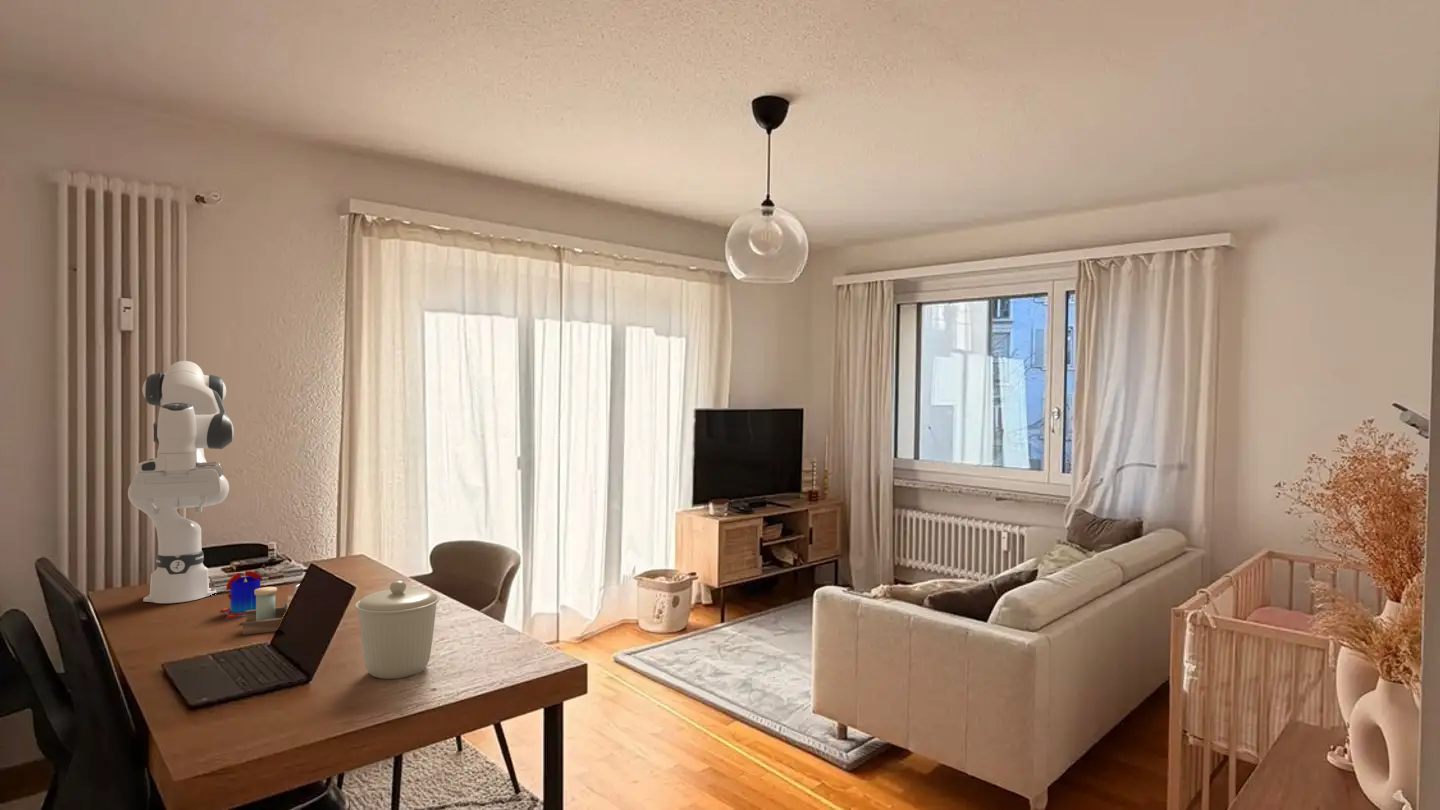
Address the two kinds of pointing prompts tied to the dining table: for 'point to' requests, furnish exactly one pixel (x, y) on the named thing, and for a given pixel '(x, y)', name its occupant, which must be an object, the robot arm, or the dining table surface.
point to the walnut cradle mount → (264, 625)
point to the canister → (397, 630)
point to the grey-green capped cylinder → (265, 603)
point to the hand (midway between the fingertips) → (177, 513)
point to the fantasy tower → (242, 594)
